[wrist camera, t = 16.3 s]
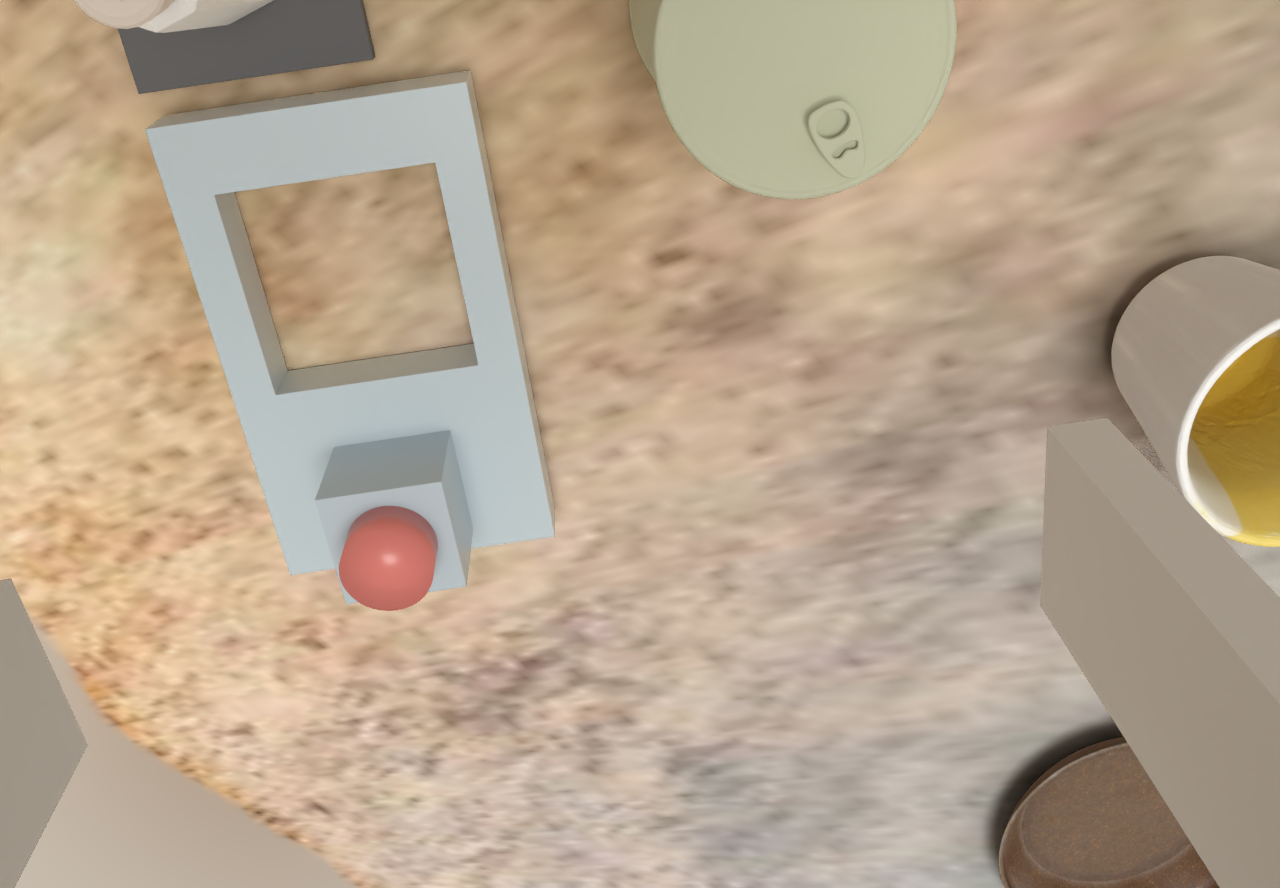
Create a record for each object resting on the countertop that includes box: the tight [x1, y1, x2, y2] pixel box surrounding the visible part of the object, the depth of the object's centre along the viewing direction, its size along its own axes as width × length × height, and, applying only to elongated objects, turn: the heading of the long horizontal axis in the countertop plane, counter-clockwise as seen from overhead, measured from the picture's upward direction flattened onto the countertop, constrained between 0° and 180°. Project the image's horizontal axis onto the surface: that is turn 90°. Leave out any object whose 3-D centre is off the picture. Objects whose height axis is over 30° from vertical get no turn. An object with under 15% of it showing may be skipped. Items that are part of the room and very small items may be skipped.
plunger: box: [339, 506, 438, 611], centre depth 46 cm, size 4×4×2 cm
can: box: [629, 0, 957, 199], centre depth 39 cm, size 9×9×12 cm
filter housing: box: [145, 70, 555, 604], centre depth 47 cm, size 20×12×7 cm, turn 8°
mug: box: [1111, 256, 1280, 547], centre depth 48 cm, size 14×10×10 cm
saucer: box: [998, 737, 1220, 888], centre depth 65 cm, size 15×15×3 cm
